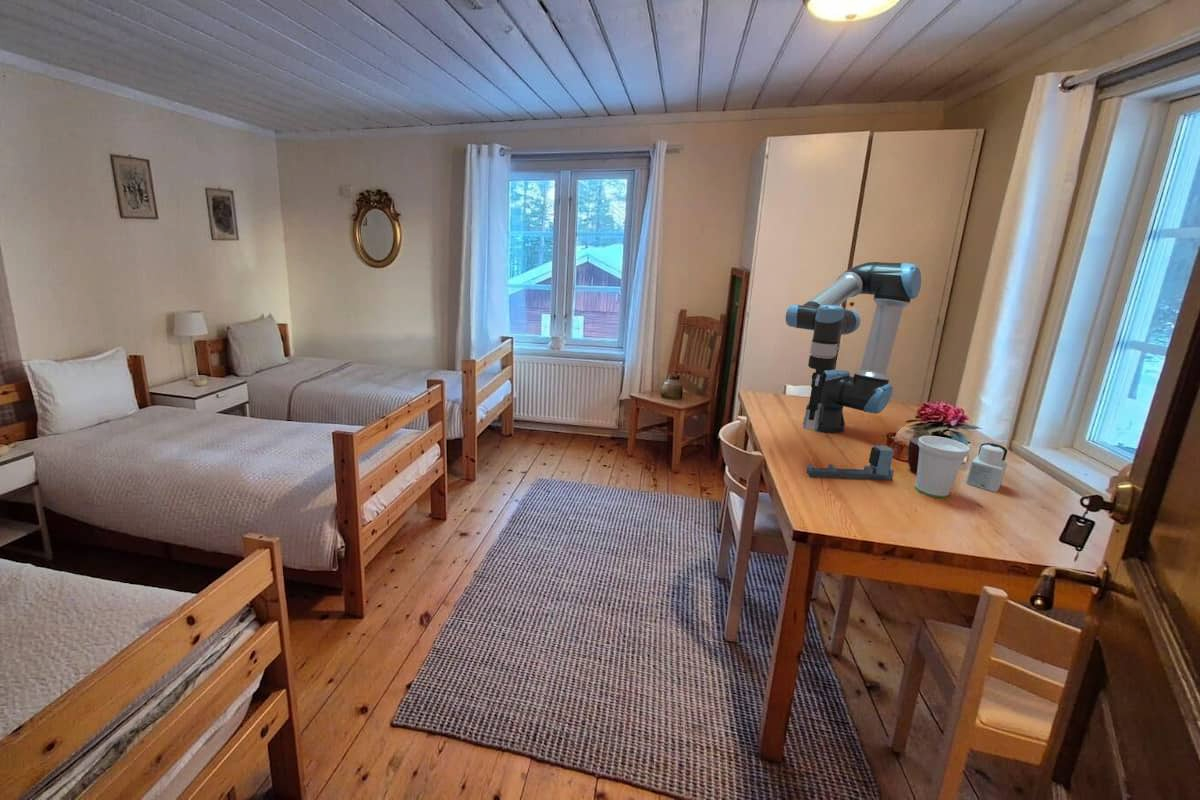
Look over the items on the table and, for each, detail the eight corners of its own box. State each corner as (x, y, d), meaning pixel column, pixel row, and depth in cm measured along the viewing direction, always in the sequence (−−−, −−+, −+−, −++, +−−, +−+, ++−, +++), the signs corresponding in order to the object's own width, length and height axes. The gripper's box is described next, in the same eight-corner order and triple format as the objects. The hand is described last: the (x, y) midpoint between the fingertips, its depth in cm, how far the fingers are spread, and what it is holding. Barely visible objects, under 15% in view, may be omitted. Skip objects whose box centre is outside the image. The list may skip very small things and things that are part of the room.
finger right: (804, 424, 166) (808, 401, 163) (820, 427, 164) (824, 404, 161) (803, 428, 162) (807, 404, 160) (819, 431, 160) (823, 407, 158)
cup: (912, 496, 146) (924, 447, 142) (903, 478, 157) (914, 433, 153) (962, 504, 142) (976, 454, 138) (949, 486, 153) (962, 439, 149)
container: (971, 476, 161) (981, 438, 157) (1001, 485, 156) (1012, 446, 152) (965, 483, 156) (976, 444, 152) (996, 492, 150) (1008, 452, 147)
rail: (805, 472, 159) (810, 442, 156) (885, 475, 159) (892, 446, 156) (810, 477, 155) (815, 447, 152) (892, 481, 155) (899, 451, 153)
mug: (936, 481, 156) (944, 452, 153) (907, 476, 159) (914, 447, 156) (929, 469, 166) (936, 440, 163) (901, 464, 168) (908, 436, 165)
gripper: (833, 362, 147) (820, 437, 154) (837, 353, 162) (825, 421, 169) (806, 358, 151) (794, 432, 157) (813, 350, 165) (801, 417, 172)
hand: (810, 426), depth 163 cm, fingers closed on finger right, 4 cm apart
